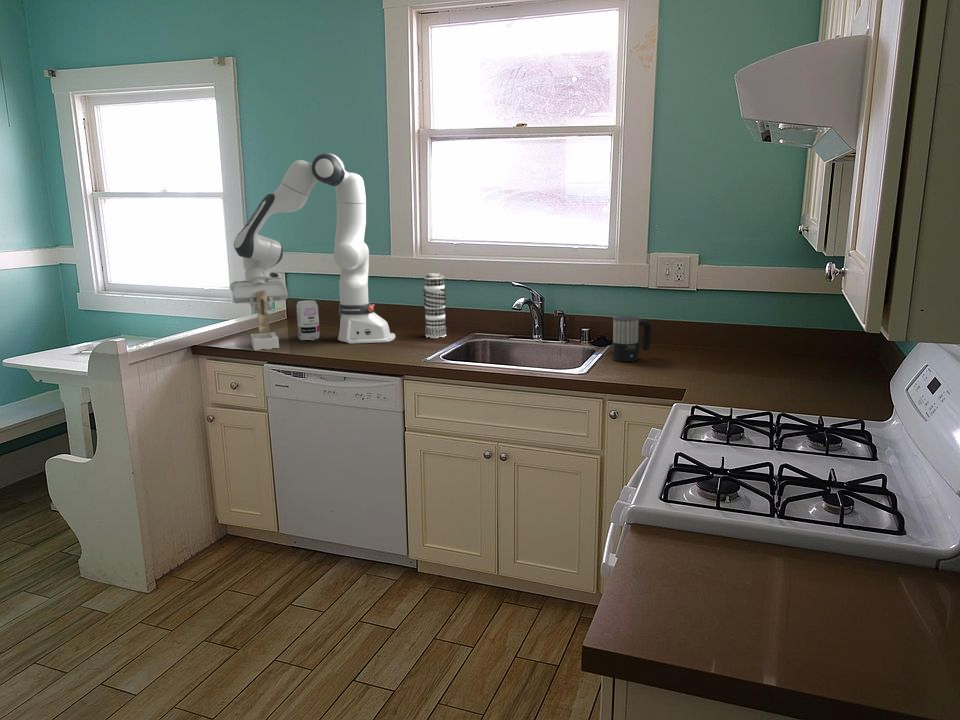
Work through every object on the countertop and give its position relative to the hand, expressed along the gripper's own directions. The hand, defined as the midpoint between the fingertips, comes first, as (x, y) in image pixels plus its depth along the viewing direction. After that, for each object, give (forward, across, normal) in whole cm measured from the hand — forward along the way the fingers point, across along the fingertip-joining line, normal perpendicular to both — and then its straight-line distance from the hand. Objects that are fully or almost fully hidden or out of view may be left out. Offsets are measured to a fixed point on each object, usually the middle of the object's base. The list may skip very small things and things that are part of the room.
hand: (262, 309), depth 284 cm
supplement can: (+5, +18, +16) cm, 24 cm away
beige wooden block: (+6, 0, +6) cm, 8 cm away
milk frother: (+60, +114, -39) cm, 135 cm away
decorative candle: (+16, +66, +5) cm, 68 cm away
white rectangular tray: (+10, 0, +11) cm, 14 cm away
